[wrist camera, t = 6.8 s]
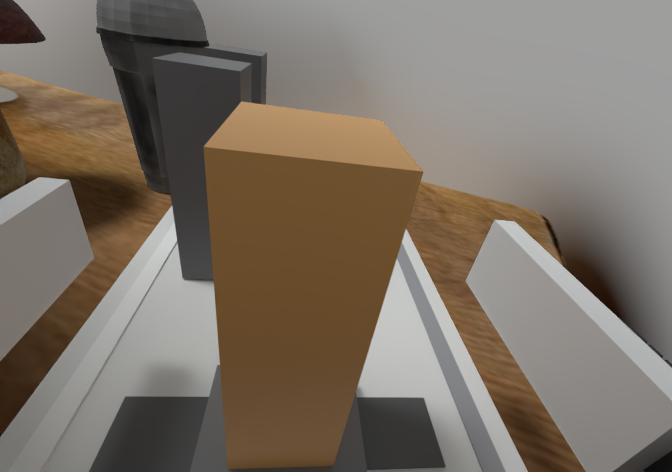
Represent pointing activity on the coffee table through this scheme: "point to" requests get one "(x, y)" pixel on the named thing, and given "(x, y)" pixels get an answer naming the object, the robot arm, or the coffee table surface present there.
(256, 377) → the breaker handle
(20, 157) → the decorative mushroom
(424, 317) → the slotted peg board
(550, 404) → the robot arm
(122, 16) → the beverage cup
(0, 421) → the coffee table surface
